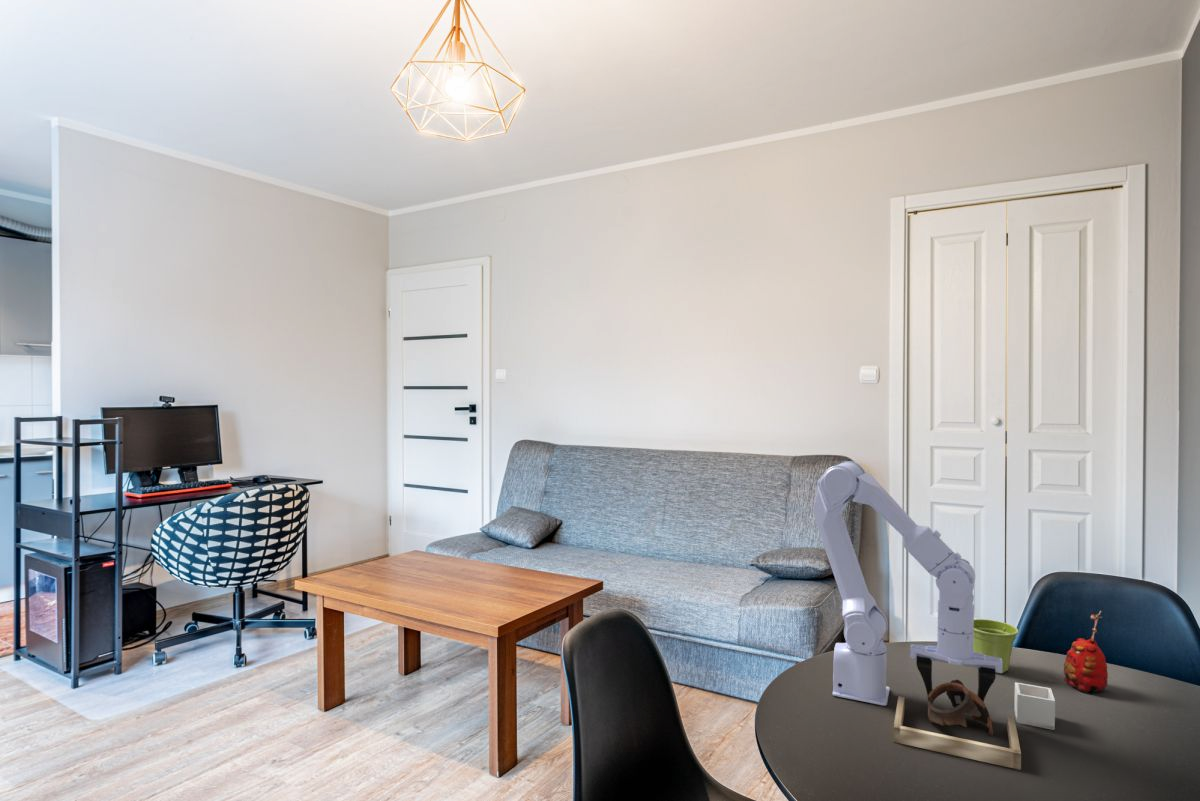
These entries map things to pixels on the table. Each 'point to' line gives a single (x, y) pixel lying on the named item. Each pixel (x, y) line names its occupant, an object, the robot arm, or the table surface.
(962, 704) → the brown hollow curved piece
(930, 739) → the birch bay
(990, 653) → the plant pot
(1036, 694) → the white square open box
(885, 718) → the table surface
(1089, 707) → the table surface
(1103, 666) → the red clay folk toy
